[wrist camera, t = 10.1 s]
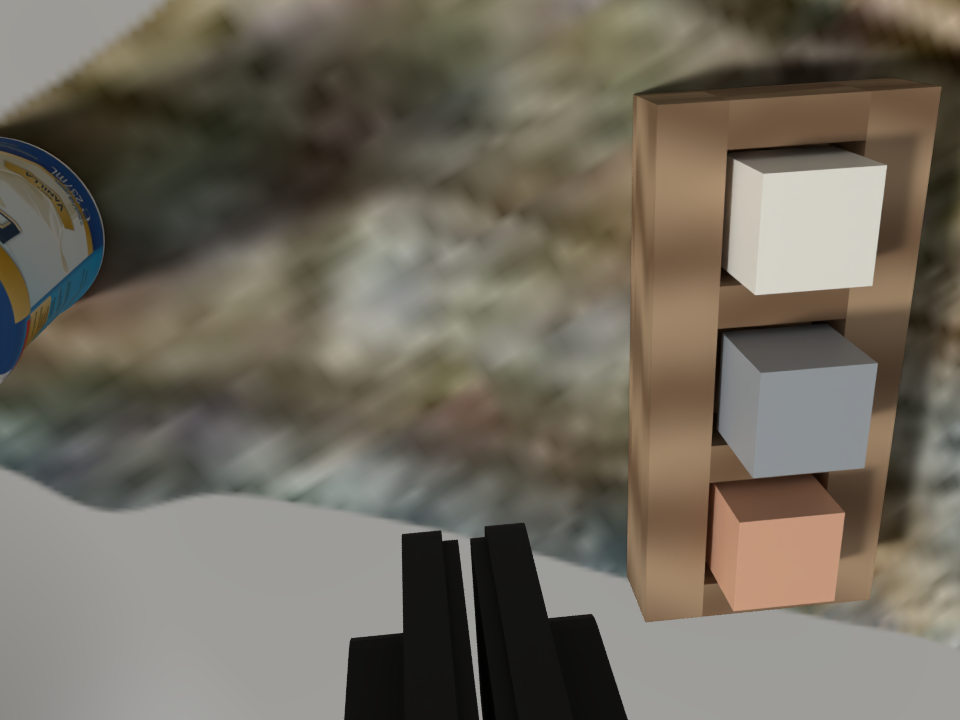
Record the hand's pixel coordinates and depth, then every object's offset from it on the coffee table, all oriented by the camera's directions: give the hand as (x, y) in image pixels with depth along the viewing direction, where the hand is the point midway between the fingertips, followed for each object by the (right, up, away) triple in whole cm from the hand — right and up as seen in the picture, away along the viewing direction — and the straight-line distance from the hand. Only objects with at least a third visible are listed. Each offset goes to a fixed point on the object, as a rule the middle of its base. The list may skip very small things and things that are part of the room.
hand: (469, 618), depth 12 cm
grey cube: (+14, +3, +31) cm, 34 cm away
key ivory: (+13, +10, +29) cm, 33 cm away
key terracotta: (+14, -4, +35) cm, 38 cm away
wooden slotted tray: (+14, +4, +34) cm, 36 cm away
